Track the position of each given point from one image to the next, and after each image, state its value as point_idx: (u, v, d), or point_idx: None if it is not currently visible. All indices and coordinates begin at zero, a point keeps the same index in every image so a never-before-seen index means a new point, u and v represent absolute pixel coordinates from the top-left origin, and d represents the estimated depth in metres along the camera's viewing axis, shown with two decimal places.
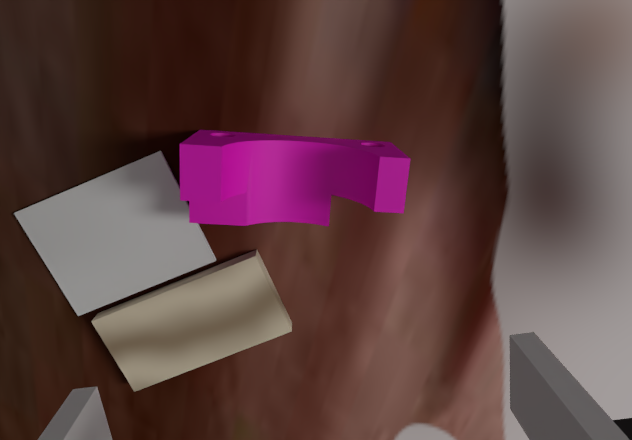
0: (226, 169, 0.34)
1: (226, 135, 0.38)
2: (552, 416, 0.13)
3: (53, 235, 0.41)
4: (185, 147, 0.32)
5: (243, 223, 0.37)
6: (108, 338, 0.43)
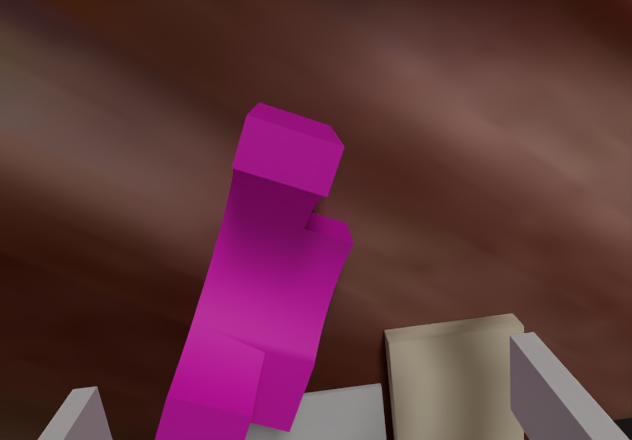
0: (209, 388, 0.22)
1: None
2: (552, 416, 0.13)
3: None
4: None
5: (310, 366, 0.25)
6: None
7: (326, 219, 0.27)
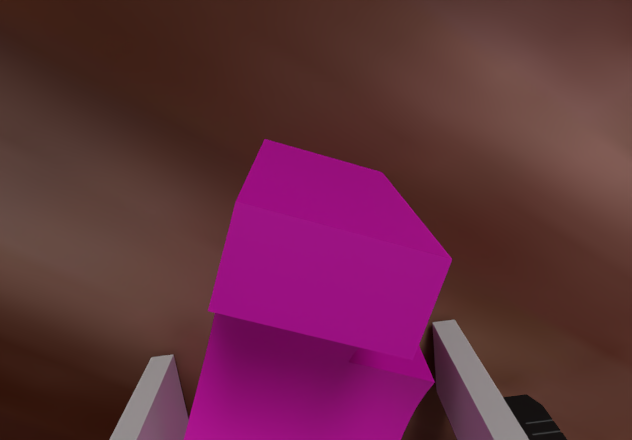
0: None
1: None
2: (458, 394, 0.14)
3: None
4: None
5: None
6: None
7: None
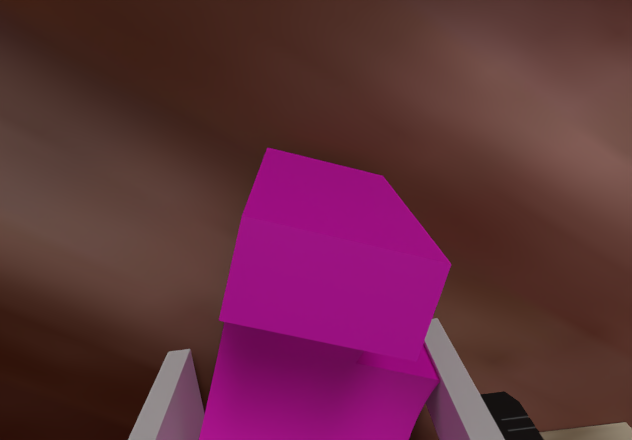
0: None
1: None
2: (438, 391, 0.15)
3: None
4: None
5: None
6: None
7: None
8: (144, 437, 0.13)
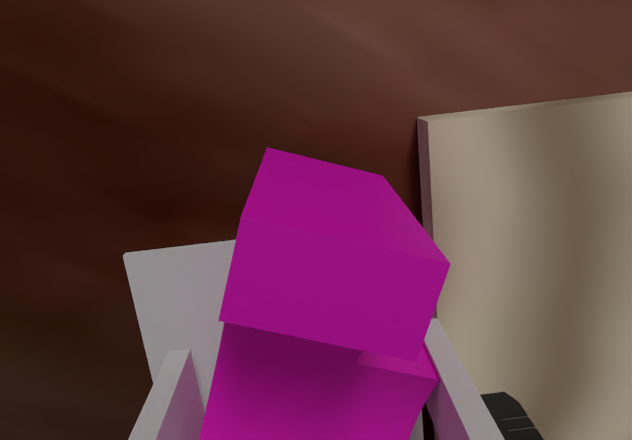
0: None
1: None
2: (438, 391, 0.15)
3: None
4: None
5: None
6: None
7: None
8: (144, 437, 0.13)
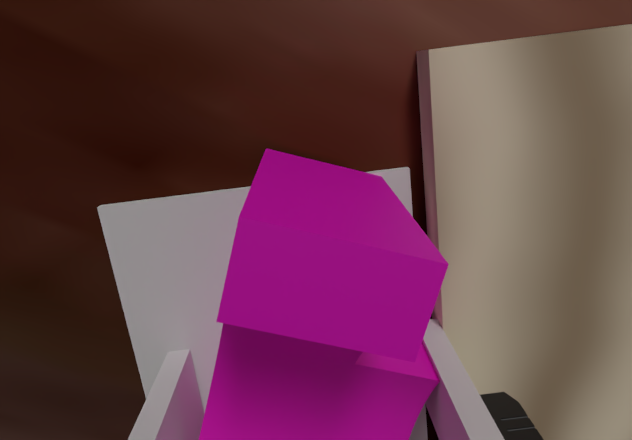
0: None
1: None
2: (438, 391, 0.15)
3: None
4: None
5: None
6: None
7: None
8: (144, 437, 0.13)
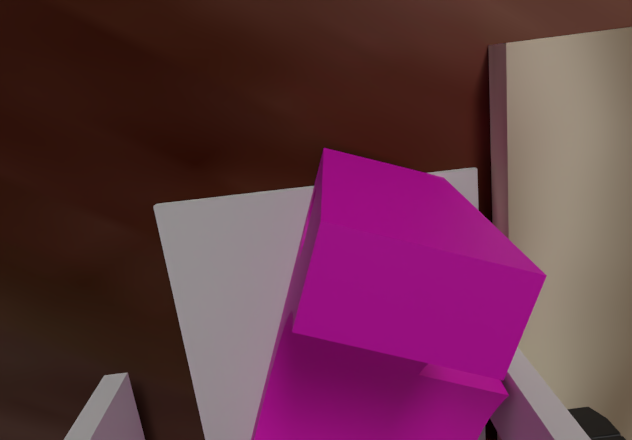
0: None
1: None
2: (513, 406, 0.14)
3: None
4: None
5: None
6: None
7: None
8: None
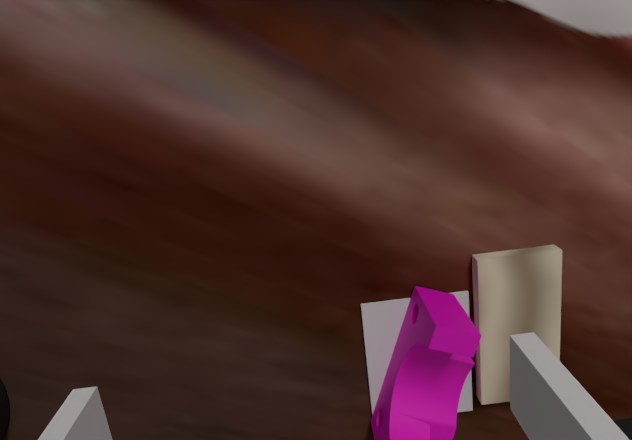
0: None
1: (380, 411, 0.48)
2: (552, 416, 0.13)
3: None
4: None
5: (453, 430, 0.45)
6: (501, 397, 0.49)
7: None
8: None
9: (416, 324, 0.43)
